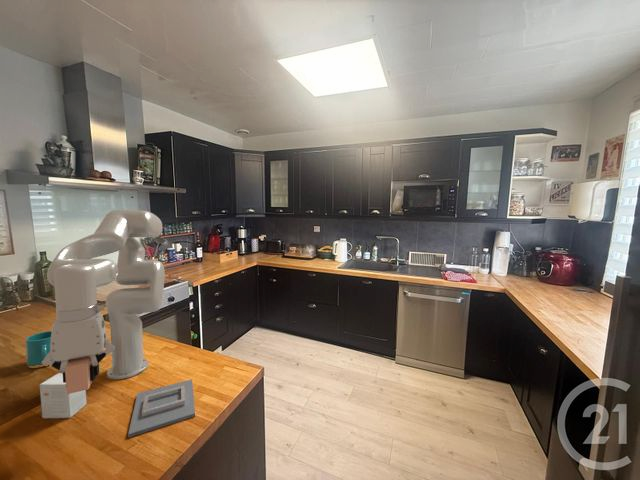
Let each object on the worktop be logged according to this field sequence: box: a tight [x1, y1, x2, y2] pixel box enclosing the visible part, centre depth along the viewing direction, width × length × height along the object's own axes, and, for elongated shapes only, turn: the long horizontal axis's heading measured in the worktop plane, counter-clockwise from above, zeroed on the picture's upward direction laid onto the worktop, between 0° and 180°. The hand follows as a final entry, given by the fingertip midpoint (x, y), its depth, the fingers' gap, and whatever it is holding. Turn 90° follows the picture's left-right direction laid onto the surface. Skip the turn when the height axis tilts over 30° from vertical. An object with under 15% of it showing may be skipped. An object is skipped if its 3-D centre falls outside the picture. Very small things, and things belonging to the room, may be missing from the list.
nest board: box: [127, 378, 196, 439], centre depth 79 cm, size 18×16×2 cm
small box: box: [39, 372, 88, 419], centre depth 76 cm, size 8×6×10 cm
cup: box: [25, 330, 52, 367], centre depth 99 cm, size 9×12×11 cm
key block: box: [65, 356, 93, 394], centre depth 66 cm, size 7×4×7 cm, turn 29°
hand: (82, 380), depth 66 cm, fingers closed on key block, 4 cm apart
